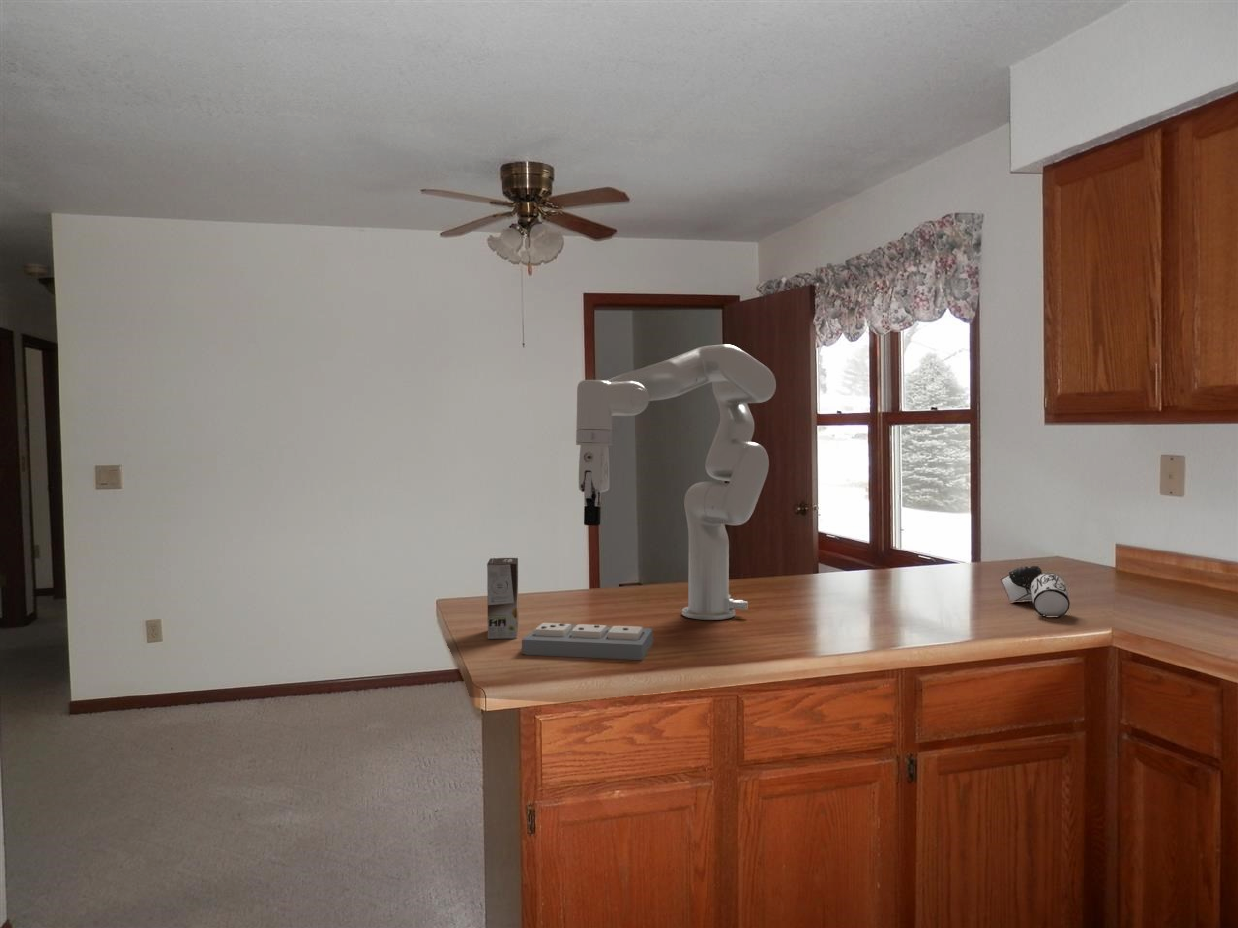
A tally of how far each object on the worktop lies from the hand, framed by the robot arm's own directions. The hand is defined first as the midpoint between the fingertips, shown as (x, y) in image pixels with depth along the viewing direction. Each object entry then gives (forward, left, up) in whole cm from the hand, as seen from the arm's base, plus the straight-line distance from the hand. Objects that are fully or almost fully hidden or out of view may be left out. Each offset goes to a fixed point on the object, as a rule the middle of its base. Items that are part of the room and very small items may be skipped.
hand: (592, 524), depth 191 cm
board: (-1, +10, -24) cm, 26 cm away
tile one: (-9, +10, -22) cm, 26 cm away
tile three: (+6, +10, -22) cm, 25 cm away
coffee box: (+20, +1, -24) cm, 31 cm away
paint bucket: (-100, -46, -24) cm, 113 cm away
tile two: (-1, +10, -22) cm, 24 cm away
